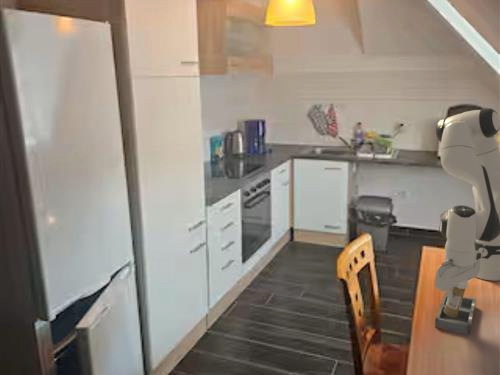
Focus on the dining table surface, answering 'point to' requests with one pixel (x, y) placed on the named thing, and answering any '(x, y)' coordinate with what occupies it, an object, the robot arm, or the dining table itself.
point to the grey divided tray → (461, 320)
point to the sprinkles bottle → (455, 299)
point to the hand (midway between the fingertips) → (455, 295)
